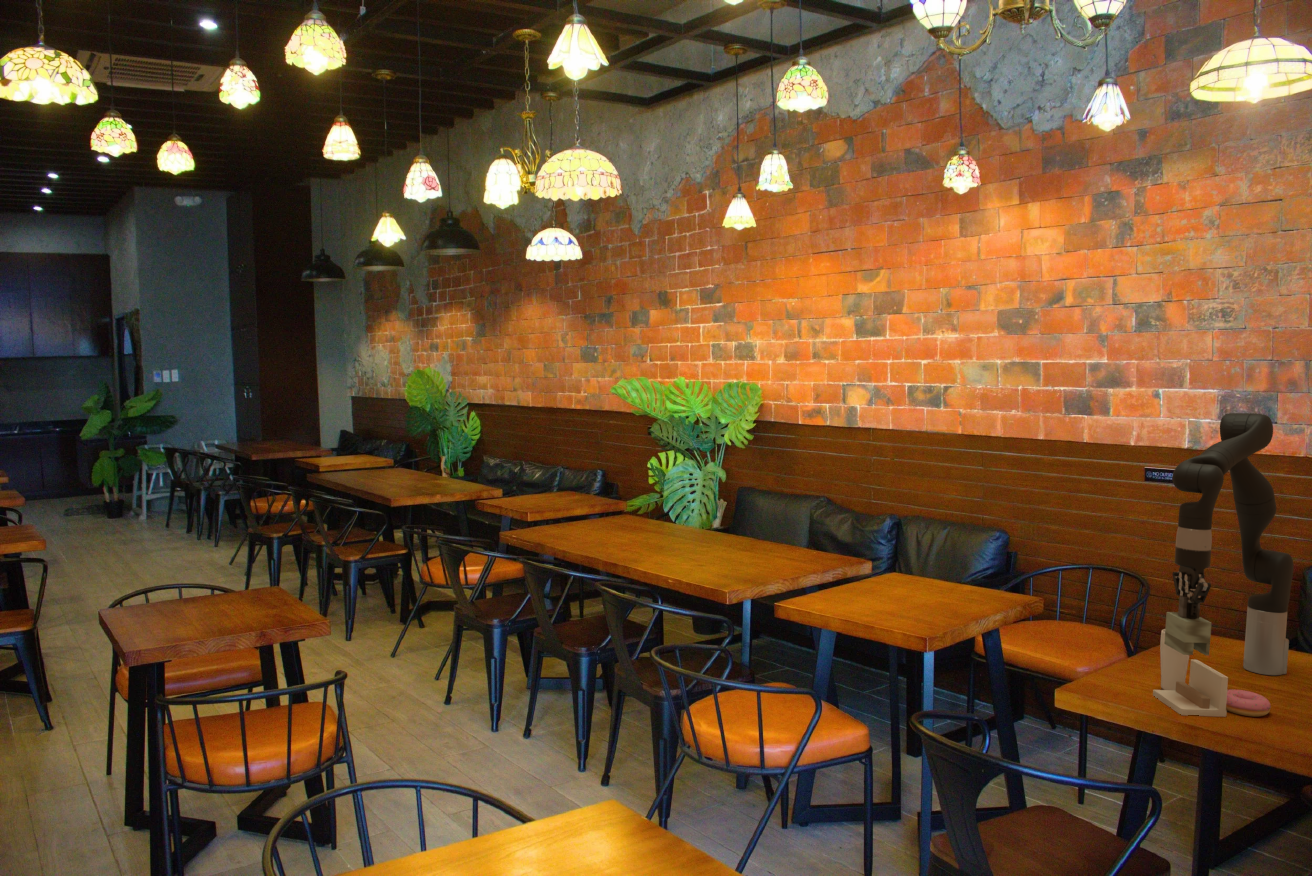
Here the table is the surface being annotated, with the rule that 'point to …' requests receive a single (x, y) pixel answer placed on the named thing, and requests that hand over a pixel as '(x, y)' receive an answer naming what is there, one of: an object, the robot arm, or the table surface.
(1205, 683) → the stand
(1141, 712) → the table surface
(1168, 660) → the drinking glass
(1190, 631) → the olive boxy piece
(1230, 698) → the doughnut
